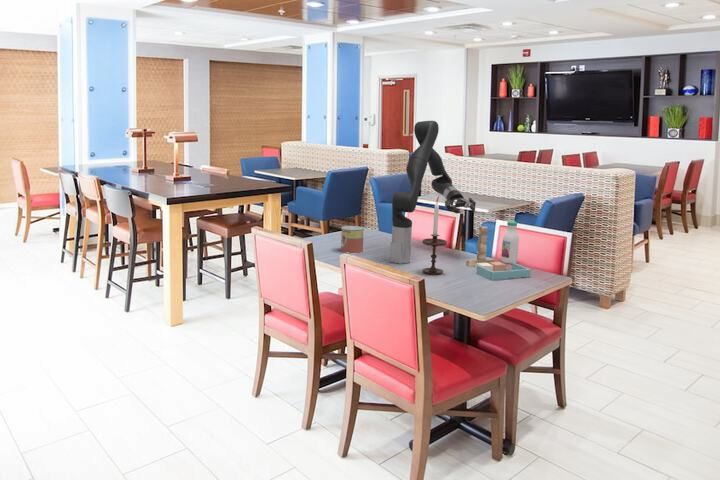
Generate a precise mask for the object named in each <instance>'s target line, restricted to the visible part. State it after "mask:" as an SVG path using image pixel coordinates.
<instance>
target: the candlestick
mask: <svg viewBox="0 0 720 480" xmlns="http://www.w3.org/2000/svg"><path fill="white" fill-rule="evenodd" d="M439 198H440V195H438V196H437V198H436V200H435V201H436V203H435V205H434V211H433V213H434V214H433V225H432V226H433V228H432V229H433V230H432V234H430V236H431V237H432V238H424V239H422V240H421V241H422V245H423V244H424V245H426V246H431V247H432V253H431V255H430V258H431V260H430V263H431V265H430V267H426V268H423V269H422V273H423V274H426V275H430V276H431V275H432V276H440V275H443V273H444V270H443V269H442V268H438V267H436V263H437V261H436V259H437V257H438V256H437V254H436V251H437V247H442V246H446V245H447V244H448V241H447V240H445V239H441V238H438V237H439V236H440V235H439V234H438V227H439V210H440V209H439V208H440V205H439V204H438V202H439Z"/></svg>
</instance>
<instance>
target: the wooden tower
mask: <svg viewBox="0 0 720 480" xmlns="http://www.w3.org/2000/svg"><path fill="white" fill-rule="evenodd" d="M488 231H489V227H488V226H484V225H481V226H478V237H477V249H476V251H477V252H476V259H466V263H465V264H466V265H465V266H467V267H470V268H471V267H476V263H489V262H496V259H494V258H487V247H488Z"/></svg>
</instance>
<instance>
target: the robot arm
mask: <svg viewBox="0 0 720 480" xmlns="http://www.w3.org/2000/svg"><path fill="white" fill-rule="evenodd" d="M439 130H440V127H439V124H438V122H437V121H436V120H424V121H418V122H416V123H415V124H414V127H413V132H414V136H415V139H416V140H417V143H418V144H419V146H418V147H417V148H416V149H415V150H414V151H413V152H412V153H411V155H410V156H409V159H408V161H407V164H406V167H405V169H406V170H405V171H406V174H407V177H408V179H409V182H410V192H404V191H395V192H394V194H393V196H392V200H391V208H392V209H391V212H392V213H391V214H392V215H391V219H392V221H391V222H392V226H391V227H392V229H391V231H392V232H391V242H390V250H389V251H390V252H389V262H391V263H394V264H401V265H402V264H408V263H410V262H411V249H412V235H413V234H412V231H413V221H412V220H411V219H410V218H408V217H406V216H405V215H404V214H403V213H414V211H415V210H416V206H417V204H418V201H419V195H420V190H421V185H422V182H423V179H424V176H425V173H426V170H427V166H428V168H429V170H430V172H431V175H432V176H435V177H436V178H434V179H433V180H432V181H431V183H430V184H431V188H432V190H434V192H435V193H438V194H440V195H442V196H443V197H444V199H445V200H444V207H445V208H446V209H447V211H452V212H453V213H455V214H458V213H459V209H458V208H464V209H465V208H466V209H470V210H471V211H472V212H473V213H474V212H475V211H476V203H477V202H476V201H475V200H474V199H473V198H471V197H468V199H466V198H465V197H464V196H463V194H462V193H461V192H460V191H459V190H458V189H457V188H456V187H455V186H454V185H453V180H452V178H451V176H450V175H449V174H448V173H447V171H446V169H445V165H444V162H443V160H442V157H441V155H440V154H439V153H438V152H437V151H436V150H435V148H434V145H435V143H436V141H437V137H438V135H439Z"/></svg>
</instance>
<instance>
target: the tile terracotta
mask: <svg viewBox="0 0 720 480" xmlns="http://www.w3.org/2000/svg"><path fill="white" fill-rule="evenodd" d="M489 264H491V265H493V271H494V270H495V271H494V272H497V271H496V270H503V271H507V270H506V269H507V263H504V262H502V261H495V262H489Z"/></svg>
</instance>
